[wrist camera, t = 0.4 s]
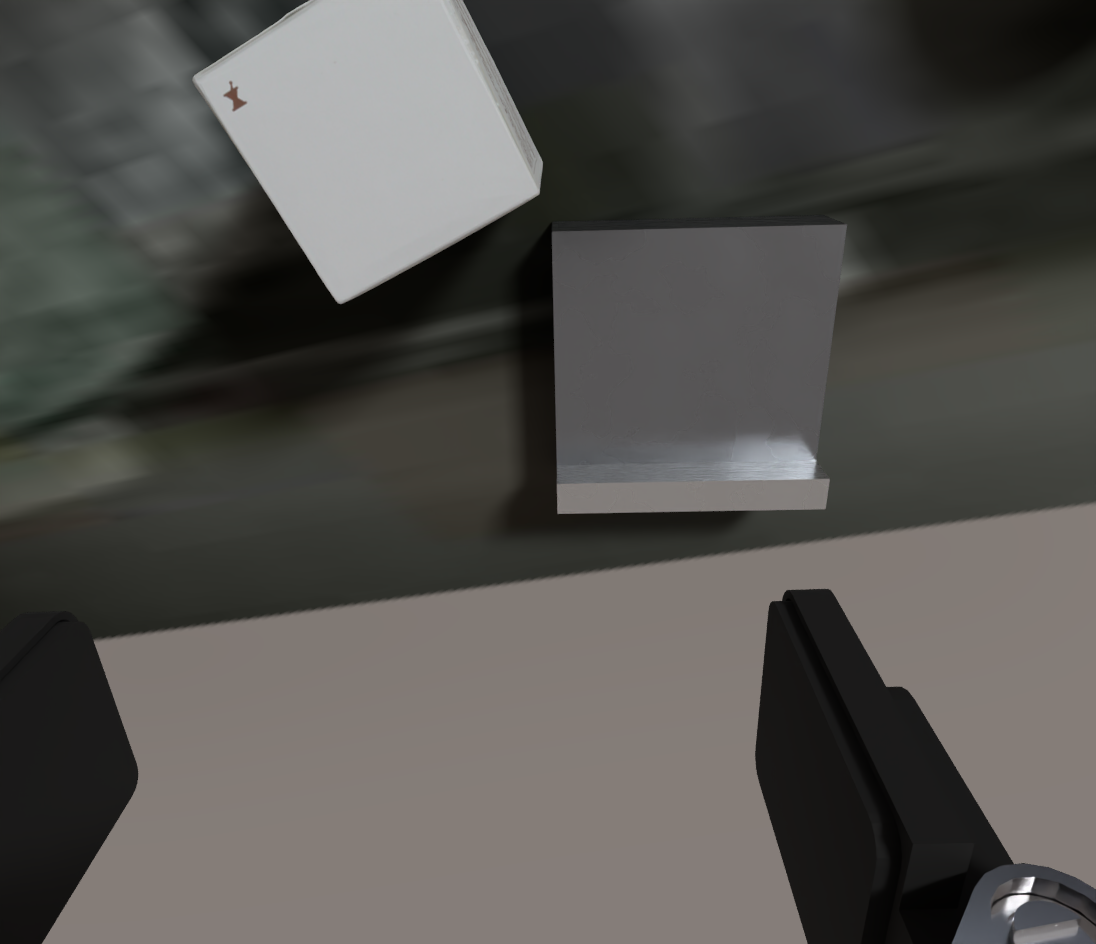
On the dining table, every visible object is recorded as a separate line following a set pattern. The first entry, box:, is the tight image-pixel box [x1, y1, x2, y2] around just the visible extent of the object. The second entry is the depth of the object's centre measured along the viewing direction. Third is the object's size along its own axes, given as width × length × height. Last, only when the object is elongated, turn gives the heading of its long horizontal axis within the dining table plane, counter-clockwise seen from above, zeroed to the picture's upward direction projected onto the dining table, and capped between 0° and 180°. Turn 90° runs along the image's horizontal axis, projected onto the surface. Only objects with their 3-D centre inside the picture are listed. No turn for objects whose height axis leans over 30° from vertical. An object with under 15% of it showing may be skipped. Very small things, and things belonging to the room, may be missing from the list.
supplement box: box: [193, 0, 543, 304], centre depth 28 cm, size 7×7×13 cm
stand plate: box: [552, 215, 847, 514], centre depth 35 cm, size 12×12×5 cm
